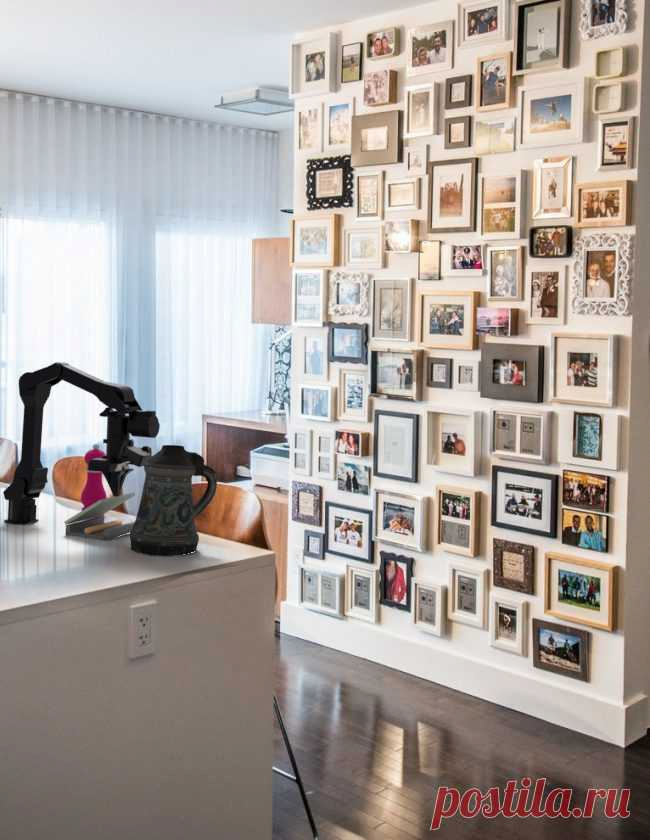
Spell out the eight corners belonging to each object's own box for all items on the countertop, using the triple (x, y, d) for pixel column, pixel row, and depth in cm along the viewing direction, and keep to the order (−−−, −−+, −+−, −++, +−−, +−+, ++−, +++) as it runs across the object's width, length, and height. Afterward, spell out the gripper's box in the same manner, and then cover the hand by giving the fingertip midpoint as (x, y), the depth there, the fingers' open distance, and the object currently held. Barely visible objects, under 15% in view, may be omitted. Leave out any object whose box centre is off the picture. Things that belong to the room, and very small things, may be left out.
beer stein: (114, 547, 242) (119, 443, 240) (176, 539, 257) (180, 440, 255) (160, 559, 232) (165, 450, 230) (221, 550, 246) (226, 447, 245)
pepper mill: (109, 513, 289) (112, 443, 288) (101, 517, 282) (104, 445, 280) (84, 511, 290) (87, 441, 288) (76, 515, 282) (79, 444, 281)
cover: (65, 524, 253) (63, 520, 254) (100, 515, 269) (99, 512, 269) (101, 502, 250) (99, 498, 250) (135, 495, 265) (133, 491, 265)
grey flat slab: (65, 534, 254) (65, 524, 254) (100, 525, 269) (100, 516, 269) (107, 540, 250) (107, 530, 250) (139, 530, 265) (140, 521, 265)
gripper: (127, 439, 245) (125, 503, 246) (164, 435, 263) (162, 495, 264) (87, 436, 249) (85, 499, 250) (126, 432, 266) (124, 491, 267)
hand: (116, 496), depth 258 cm, fingers closed, pressing on cover
